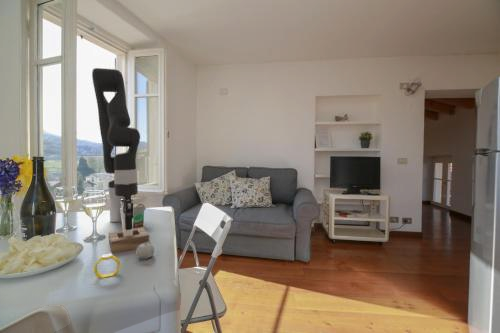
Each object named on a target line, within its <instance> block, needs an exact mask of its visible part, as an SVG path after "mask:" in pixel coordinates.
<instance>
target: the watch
mask: <svg viewBox="0 0 500 333" xmlns="http://www.w3.org/2000/svg"><path fill="white" fill-rule="evenodd" d="M110 259H112V260H114V261H115V262H116V263H117V268H116V270H115V271H114V272H112V273H107V274H102V273H100V272H99V271H98V269H97V268H98V263H100V262H101V261H107V260H110ZM120 266H121V263H120V259H119V258H118V257H117V256H115V255H114V253H104V254H102V255H101V257H100V258H99V259H97V261H96V263H95V264H94V268H93V272H94V274H95V276H96V277H98V278H99V279H104V278H111V277H114V276H116V274H118V273H119V270H120Z"/></svg>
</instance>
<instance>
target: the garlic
mask: <svg viewBox="0 0 500 333" xmlns="http://www.w3.org/2000/svg"><path fill="white" fill-rule="evenodd" d="M135 252H136V256H137V257H138V258H140V260H141V259H143V260H148V259H149V258H151V257H152V256H153V255H154V253H155V247H154V245H153V244H152V243H151V241H149V242H145V243H143V244H141V245H139V246H138V247H137V248H136V250H135Z"/></svg>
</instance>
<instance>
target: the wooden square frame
mask: <svg viewBox="0 0 500 333" xmlns="http://www.w3.org/2000/svg"><path fill="white" fill-rule="evenodd" d="M145 242H150V235H149V233H148V232H147V231H146V229H145V228H144V226H143V227H140V228H134V229H133V235H132V236H127V237H123V229H122V230H117V231H110V232H108V243H109V248H110V254H116V253H117V254H118V253H121V252H125V251H131V250H135V249H137V247H138V246H139V245H141V244H143V243H145Z"/></svg>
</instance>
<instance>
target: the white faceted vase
mask: <svg viewBox="0 0 500 333" xmlns="http://www.w3.org/2000/svg"><path fill="white" fill-rule="evenodd" d="M134 207H135V206H133V215H134ZM124 210H125V209H124ZM120 212H121V228H122V230H123V237H127V236H132V235H133V219H132V229H131V230H126V229H125V219H124V218H125V215H124V214H123V209H122V207H121V208H120ZM128 215H130V213H127V216H128Z"/></svg>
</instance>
